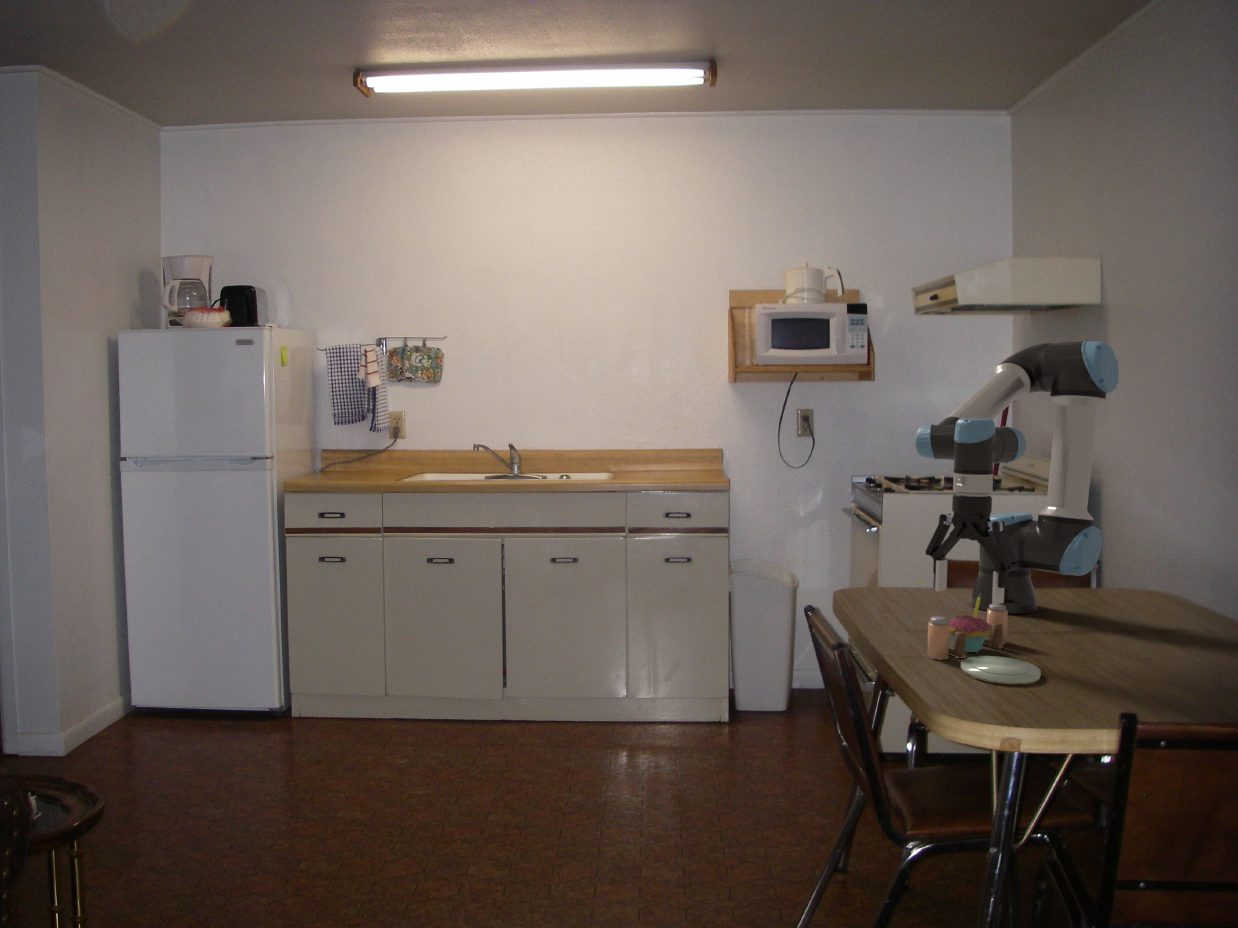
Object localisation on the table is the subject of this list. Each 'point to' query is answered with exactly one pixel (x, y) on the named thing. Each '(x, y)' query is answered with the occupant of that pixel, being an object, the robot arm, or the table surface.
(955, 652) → the rack
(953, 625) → the cupcake
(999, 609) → the shaker
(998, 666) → the plate
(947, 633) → the shaker
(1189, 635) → the table surface
